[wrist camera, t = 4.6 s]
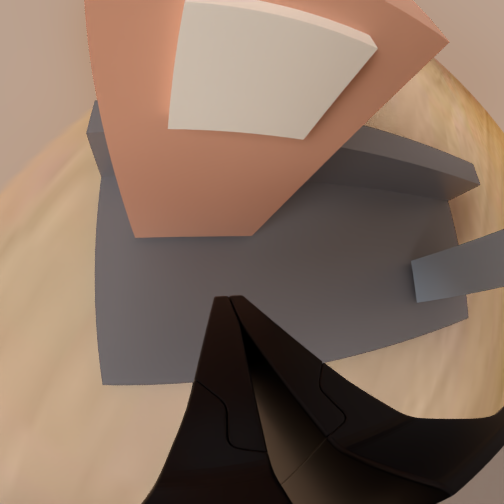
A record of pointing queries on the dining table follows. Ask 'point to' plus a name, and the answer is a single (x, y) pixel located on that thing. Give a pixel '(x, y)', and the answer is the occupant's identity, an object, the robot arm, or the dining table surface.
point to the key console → (283, 262)
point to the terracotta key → (240, 98)
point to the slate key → (461, 269)
